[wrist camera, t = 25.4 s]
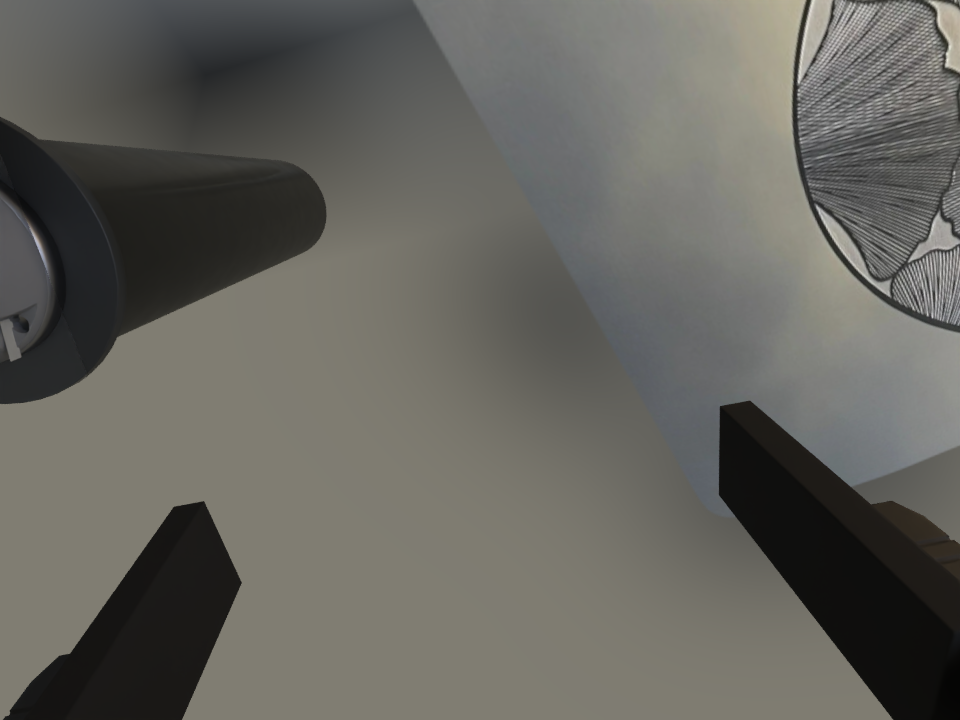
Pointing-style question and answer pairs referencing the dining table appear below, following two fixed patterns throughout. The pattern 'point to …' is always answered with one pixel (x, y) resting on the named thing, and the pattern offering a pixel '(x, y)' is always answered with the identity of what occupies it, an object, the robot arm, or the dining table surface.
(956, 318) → the dining table surface
